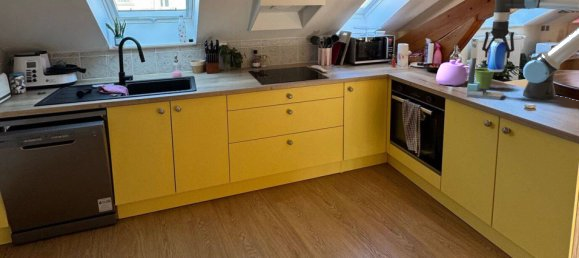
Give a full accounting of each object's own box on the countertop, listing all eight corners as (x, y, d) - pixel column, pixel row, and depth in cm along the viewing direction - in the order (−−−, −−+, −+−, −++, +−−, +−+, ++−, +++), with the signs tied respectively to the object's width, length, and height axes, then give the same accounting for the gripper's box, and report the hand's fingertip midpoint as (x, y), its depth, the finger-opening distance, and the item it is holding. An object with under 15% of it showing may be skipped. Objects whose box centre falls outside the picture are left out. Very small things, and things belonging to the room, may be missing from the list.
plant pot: (470, 86, 263) (471, 68, 259) (490, 86, 261) (492, 67, 258) (475, 90, 252) (476, 71, 248) (496, 90, 250) (498, 71, 246)
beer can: (497, 72, 226) (501, 42, 221) (483, 70, 233) (487, 41, 228) (507, 71, 230) (511, 40, 225) (493, 69, 237) (497, 39, 232)
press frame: (503, 95, 237) (504, 89, 236) (500, 99, 229) (500, 93, 228) (471, 92, 247) (471, 86, 245) (466, 96, 238) (467, 90, 237)
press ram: (479, 91, 242) (482, 57, 237) (476, 94, 236) (479, 59, 230) (468, 90, 245) (471, 57, 240) (465, 93, 239) (468, 59, 233)
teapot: (467, 88, 258) (469, 63, 253) (432, 85, 270) (434, 61, 266) (477, 81, 275) (479, 58, 270) (444, 78, 287) (446, 56, 283)
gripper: (524, 20, 220) (518, 64, 227) (481, 20, 232) (477, 62, 239) (522, 21, 214) (516, 66, 221) (478, 21, 226) (474, 64, 233)
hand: (496, 64), depth 230 cm, fingers closed on beer can, 8 cm apart
